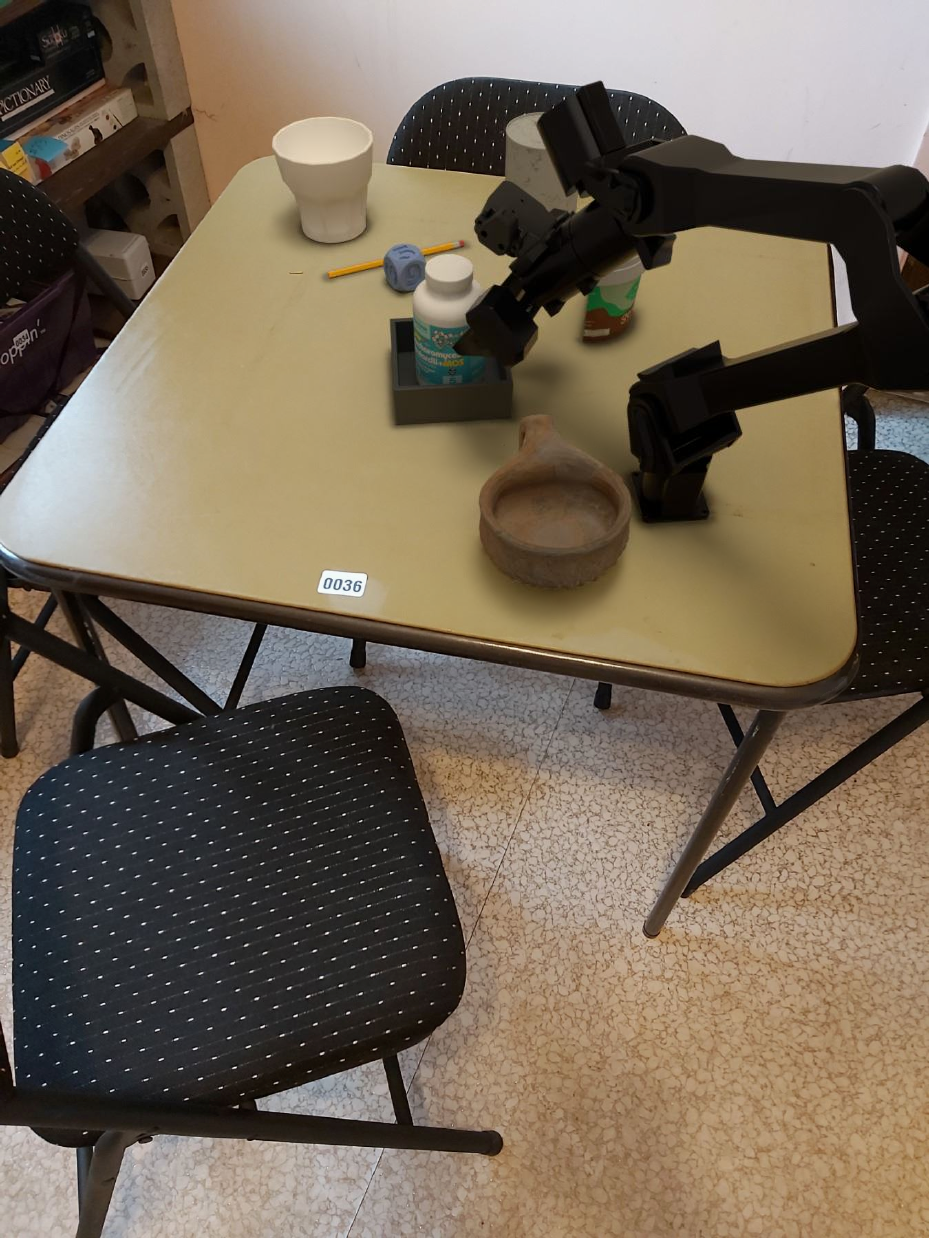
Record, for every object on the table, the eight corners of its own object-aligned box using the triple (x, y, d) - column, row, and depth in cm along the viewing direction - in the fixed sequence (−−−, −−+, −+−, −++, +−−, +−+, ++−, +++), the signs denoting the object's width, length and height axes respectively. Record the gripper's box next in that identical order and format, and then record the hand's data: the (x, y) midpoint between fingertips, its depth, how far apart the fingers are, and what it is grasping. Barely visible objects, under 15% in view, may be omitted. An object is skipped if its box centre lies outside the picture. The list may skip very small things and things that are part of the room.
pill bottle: (404, 390, 91) (395, 275, 80) (437, 353, 94) (433, 238, 83) (465, 412, 88) (464, 297, 78) (496, 372, 92) (500, 257, 81)
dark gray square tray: (511, 418, 89) (513, 383, 85) (396, 424, 88) (393, 390, 84) (499, 347, 96) (500, 312, 92) (392, 353, 95) (389, 318, 92)
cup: (279, 211, 114) (263, 124, 105) (368, 196, 116) (360, 110, 107) (296, 259, 107) (281, 170, 98) (391, 242, 109) (384, 154, 100)
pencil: (464, 247, 108) (464, 242, 108) (330, 280, 104) (329, 274, 104) (462, 244, 109) (462, 239, 108) (328, 276, 105) (327, 271, 104)
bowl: (426, 483, 81) (452, 396, 74) (552, 480, 87) (587, 399, 79) (491, 623, 71) (527, 538, 64) (629, 608, 76) (676, 529, 69)
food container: (635, 355, 95) (650, 274, 87) (580, 349, 95) (591, 267, 87) (643, 293, 102) (658, 213, 94) (592, 288, 103) (603, 207, 94)
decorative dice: (411, 270, 105) (410, 240, 102) (428, 285, 103) (427, 255, 100) (384, 280, 104) (381, 249, 101) (400, 295, 102) (398, 265, 99)
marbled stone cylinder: (494, 241, 109) (496, 142, 99) (513, 205, 114) (517, 108, 104) (566, 253, 107) (575, 153, 97) (581, 215, 113) (592, 117, 103)
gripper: (573, 117, 74) (462, 213, 86) (488, 217, 64) (375, 310, 76) (644, 223, 79) (529, 300, 90) (574, 331, 69) (455, 403, 80)
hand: (475, 325), depth 84 cm, fingers open, 9 cm apart
